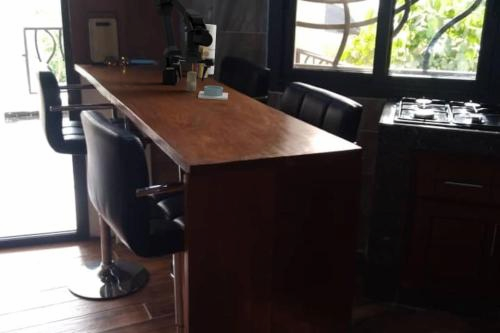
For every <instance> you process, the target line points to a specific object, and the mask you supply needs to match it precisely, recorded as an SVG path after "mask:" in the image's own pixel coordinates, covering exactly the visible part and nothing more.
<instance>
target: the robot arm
mask: <svg viewBox="0 0 500 333" xmlns="http://www.w3.org/2000/svg"><path fill="white" fill-rule="evenodd" d="M153 5H154V8H155V12H156V13H157V14H158V15H159V18H160V25H161V29H162V38H163V43H164V51H163V53H162V59H161V61H160V62H159V64H158V70H159V71H162V78H161V80H162V82H161V85H169V86H170V85H172V86H176V85H177V84H178V83H179V81H182V78H183V77H182V75H183V74H182V67H183V66H182V65H183V63H185V64H192V63H193V64H196V63H202V64H204V68H203V74H202V78H201V82H203V81H204V79H205V78H204V76H205V73H206V71H207V69H208V68H211V66H214V67H215V59H213V58H205V59H202V52H199V50H200V46H204V47H209V46H210V45H211V44H212V42H213V38H212V35H211V34H210V33H209V30H207V26H206V22H205V18H204V16H203V14H201V13H200V12H198V11H196V10H194V9H193V8H191V7H190V5H189V4H188V3H187V1H185V0H153ZM174 9H176V10H177V11H178V13H179V14H180V16H182V22H183V23H184V25H185V26H186V27H185V29H184V30H183V32H184V33H186V39H185V40H186V42H185V45H186V46H185V53H184V57H183V55H182V51H181V49H178V48H177V44H176V37H175V32H174V24H173V16H172V14H173V12H174ZM179 79H180V80H179Z"/></svg>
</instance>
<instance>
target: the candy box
mask: <svg viewBox="0 0 500 333" xmlns="http://www.w3.org/2000/svg"><path fill="white" fill-rule="evenodd" d="M199 52H202V59H205V58H209V47H204V46H200V50H199ZM191 64H192V65H191V72H197V75H196V78H200V79H202V74H203V68H204V64H202V63H196V64H193V63H191ZM208 75H209V74H208V69H207V71H206V73H205V76H204V79H208Z"/></svg>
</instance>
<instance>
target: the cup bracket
mask: <svg viewBox="0 0 500 333" xmlns="http://www.w3.org/2000/svg"><path fill="white" fill-rule="evenodd" d="M203 87H204V88H203V90H200V91H199V92H198V95H197V98H198V99H204V100H205V99H206V100H207V99H208V100H219V101H221V100H222V101H228V99H229V98H228V97H229V96H228V95H229V93H228V92H224V91H223V89H224V87H222V86H218V85H205V86H203Z"/></svg>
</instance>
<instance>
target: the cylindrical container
mask: <svg viewBox="0 0 500 333" xmlns="http://www.w3.org/2000/svg"><path fill="white" fill-rule="evenodd" d="M205 24H206V23H205ZM206 26H207V30H209V33H210V34H211V35H212V38H213V42H212V44H211V45H210V46H209V58H213V59H214V60H215V54H216V40H217V39H216V37H217V36H216V35H217V24H209V23H208V24H206ZM214 72H215V65H214V66H211V68H208V75H214Z"/></svg>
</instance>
